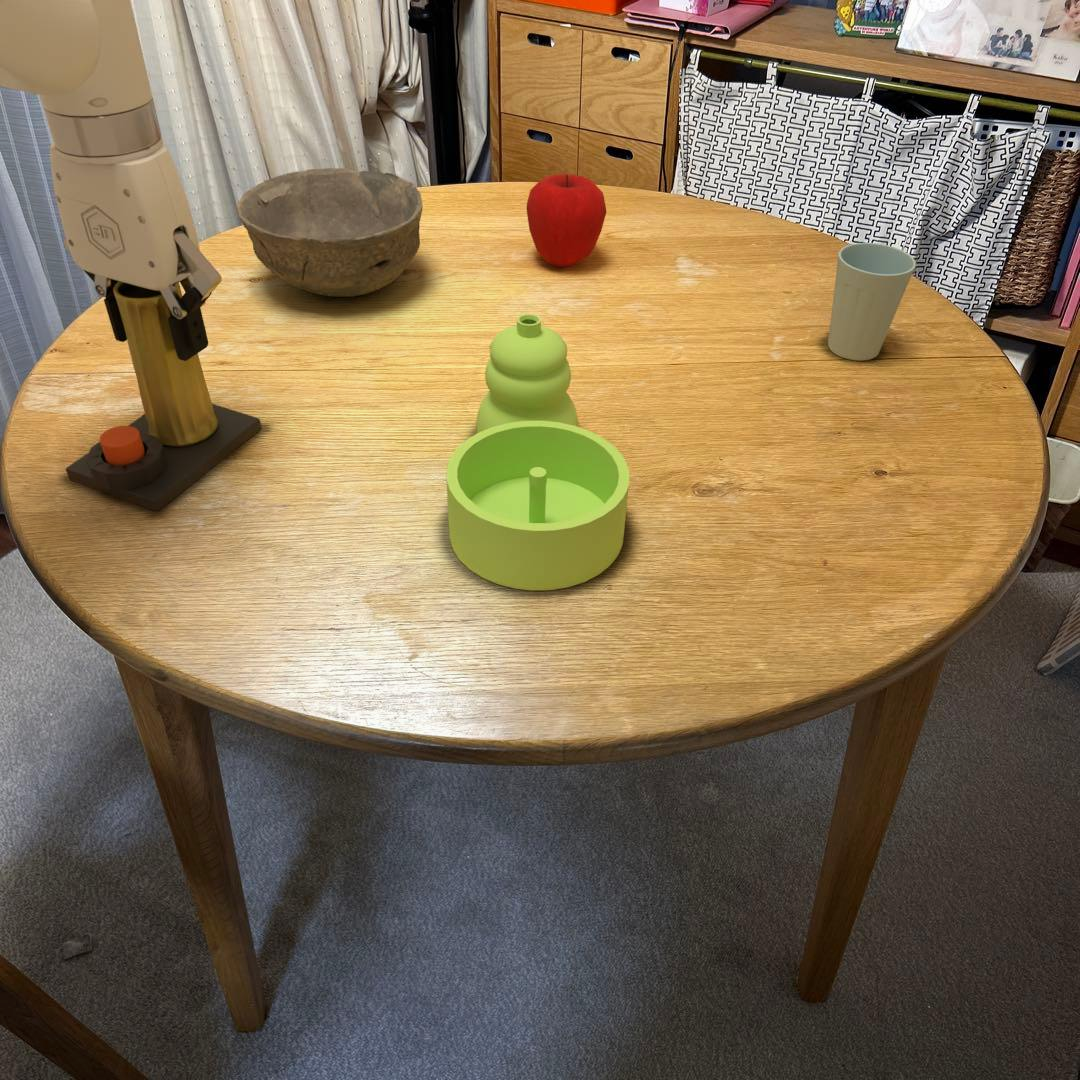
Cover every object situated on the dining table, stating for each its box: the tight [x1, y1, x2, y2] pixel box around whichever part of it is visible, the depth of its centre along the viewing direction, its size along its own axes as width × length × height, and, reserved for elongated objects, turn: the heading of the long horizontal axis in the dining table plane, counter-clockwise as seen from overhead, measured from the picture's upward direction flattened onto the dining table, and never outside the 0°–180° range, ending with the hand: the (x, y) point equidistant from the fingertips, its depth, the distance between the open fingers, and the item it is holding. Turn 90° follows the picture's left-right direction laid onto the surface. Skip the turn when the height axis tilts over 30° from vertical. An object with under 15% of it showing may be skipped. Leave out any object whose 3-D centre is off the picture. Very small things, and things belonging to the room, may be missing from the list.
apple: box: [526, 173, 607, 268], centre depth 116 cm, size 10×10×11 cm
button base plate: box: [65, 403, 262, 513], centre depth 86 cm, size 15×10×3 cm
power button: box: [99, 425, 145, 465], centre depth 82 cm, size 3×3×2 cm
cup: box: [827, 242, 917, 362], centre depth 102 cm, size 8×8×10 cm
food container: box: [445, 313, 631, 592], centre depth 80 cm, size 25×15×13 cm, turn 4°
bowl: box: [236, 167, 424, 298], centre depth 111 cm, size 21×21×10 cm
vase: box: [113, 281, 218, 447], centre depth 84 cm, size 6×6×14 cm
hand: (162, 342), depth 83 cm, fingers open, 6 cm apart
